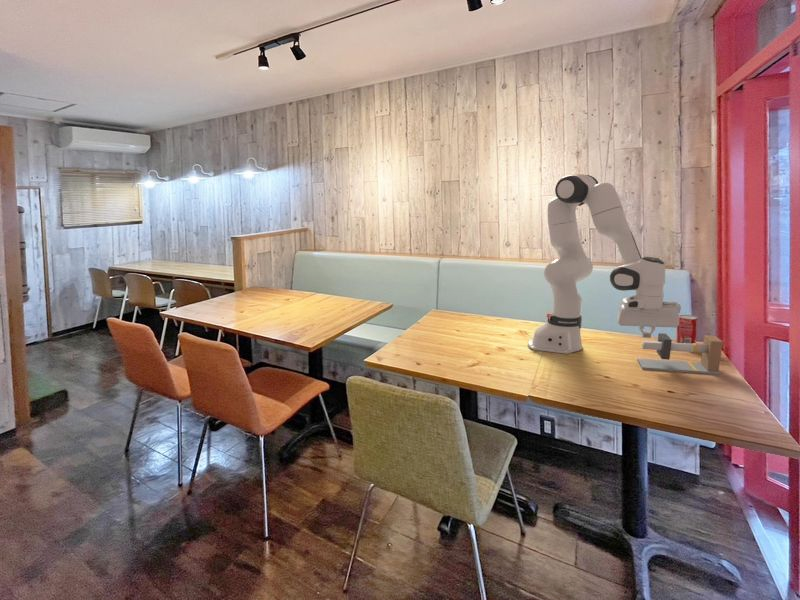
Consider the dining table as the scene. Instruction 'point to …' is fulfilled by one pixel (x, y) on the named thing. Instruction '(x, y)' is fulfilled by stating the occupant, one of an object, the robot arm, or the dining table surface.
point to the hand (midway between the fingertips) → (646, 337)
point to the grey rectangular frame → (664, 346)
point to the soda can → (686, 329)
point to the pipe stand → (707, 366)
